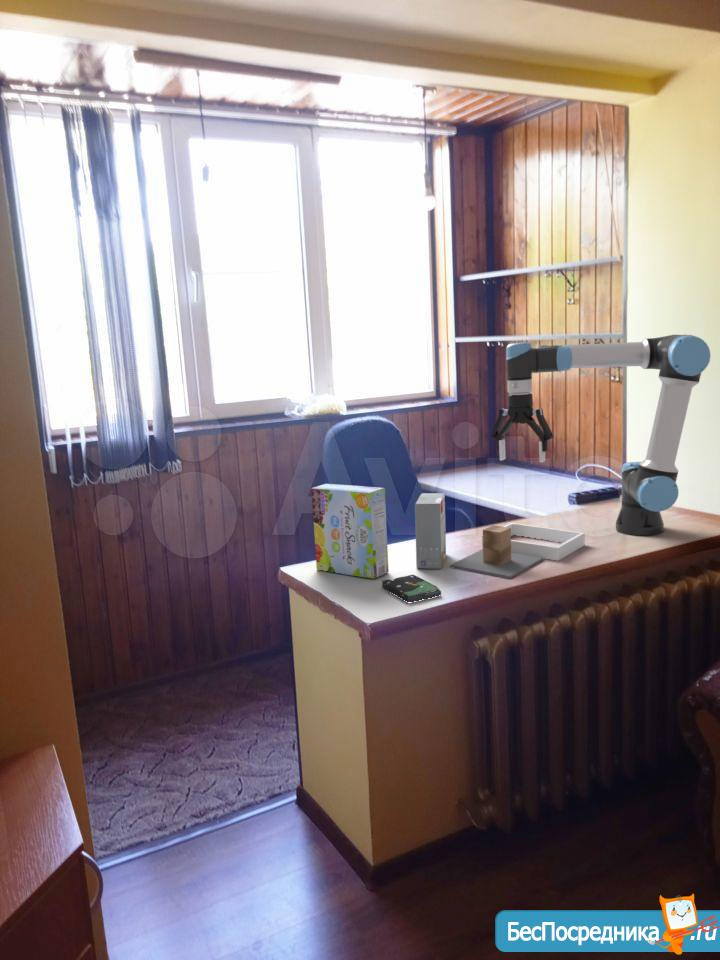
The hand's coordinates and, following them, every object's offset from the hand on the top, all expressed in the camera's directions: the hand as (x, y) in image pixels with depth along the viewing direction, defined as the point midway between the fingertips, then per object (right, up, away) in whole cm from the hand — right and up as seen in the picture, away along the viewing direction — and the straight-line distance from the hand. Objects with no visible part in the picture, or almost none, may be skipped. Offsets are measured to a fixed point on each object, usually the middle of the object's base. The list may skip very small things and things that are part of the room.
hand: (522, 460), depth 239 cm
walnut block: (-10, -30, -13) cm, 34 cm away
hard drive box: (-29, -31, -7) cm, 43 cm away
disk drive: (-37, -37, -32) cm, 62 cm away
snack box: (-53, -33, -12) cm, 64 cm away
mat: (-10, -31, -12) cm, 35 cm away
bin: (+4, -27, +3) cm, 28 cm away
